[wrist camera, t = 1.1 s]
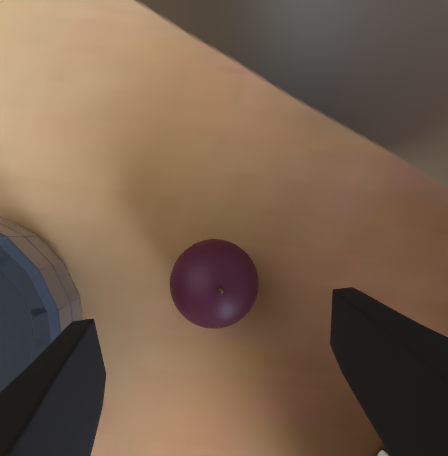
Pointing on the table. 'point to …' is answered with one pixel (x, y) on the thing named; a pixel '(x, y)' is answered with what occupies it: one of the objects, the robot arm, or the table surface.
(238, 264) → the plum
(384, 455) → the syrup box
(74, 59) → the table surface
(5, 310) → the bowl
